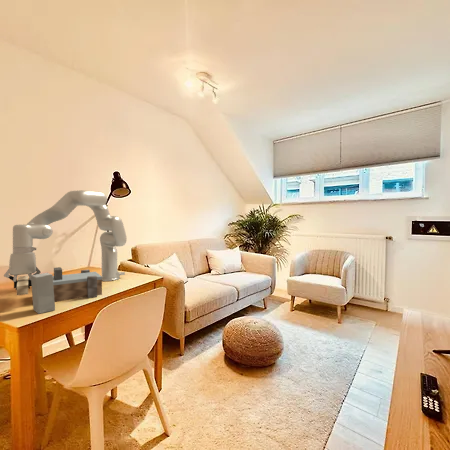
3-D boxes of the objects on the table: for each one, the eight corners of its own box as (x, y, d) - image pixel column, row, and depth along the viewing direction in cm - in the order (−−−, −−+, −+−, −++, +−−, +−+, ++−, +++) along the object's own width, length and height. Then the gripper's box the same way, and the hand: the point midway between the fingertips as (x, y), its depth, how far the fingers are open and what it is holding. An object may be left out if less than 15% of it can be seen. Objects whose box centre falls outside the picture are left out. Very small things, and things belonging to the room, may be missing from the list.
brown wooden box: (94, 286, 153) (94, 268, 153) (103, 296, 135) (103, 275, 135) (40, 293, 137) (40, 274, 137) (42, 305, 119) (42, 282, 119)
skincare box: (55, 310, 113) (55, 274, 113) (35, 314, 108) (35, 276, 107) (49, 306, 119) (49, 271, 118) (30, 310, 113) (30, 273, 113)
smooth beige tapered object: (28, 283, 135) (28, 275, 134) (28, 294, 115) (28, 285, 115) (18, 284, 132) (18, 276, 132) (16, 295, 113) (16, 286, 113)
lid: (95, 275, 150) (95, 263, 150) (101, 281, 138) (101, 267, 137) (40, 282, 135) (40, 267, 134) (41, 288, 122) (41, 272, 122)
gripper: (43, 248, 132) (43, 284, 132) (0, 250, 122) (0, 289, 122) (44, 250, 126) (44, 287, 126) (-2, 252, 116) (-1, 293, 116)
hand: (22, 288), depth 124 cm, fingers closed on smooth beige tapered object, 4 cm apart
